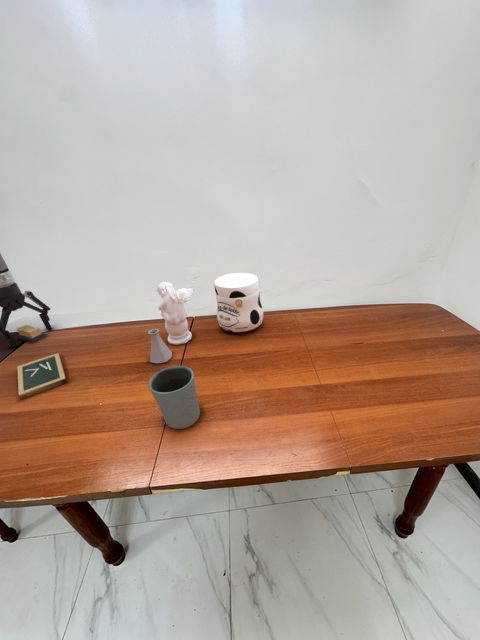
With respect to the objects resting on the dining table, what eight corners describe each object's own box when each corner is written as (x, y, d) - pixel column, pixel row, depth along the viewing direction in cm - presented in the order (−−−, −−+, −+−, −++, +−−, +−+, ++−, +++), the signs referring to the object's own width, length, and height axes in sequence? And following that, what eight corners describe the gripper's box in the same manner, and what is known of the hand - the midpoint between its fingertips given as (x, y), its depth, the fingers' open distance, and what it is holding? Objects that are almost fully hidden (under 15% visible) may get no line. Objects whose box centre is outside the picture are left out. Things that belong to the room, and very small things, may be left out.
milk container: (215, 338, 105) (207, 290, 95) (221, 316, 119) (215, 273, 110) (264, 335, 104) (260, 287, 94) (264, 314, 119) (261, 270, 109)
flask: (175, 351, 99) (168, 325, 94) (167, 364, 93) (160, 337, 88) (155, 351, 100) (147, 325, 94) (146, 364, 94) (137, 337, 88)
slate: (20, 370, 95) (17, 366, 94) (60, 357, 101) (58, 352, 100) (21, 399, 83) (18, 395, 82) (67, 382, 88) (65, 377, 87)
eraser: (19, 338, 114) (13, 329, 112) (32, 332, 118) (27, 323, 116) (33, 342, 111) (28, 333, 108) (46, 336, 114) (41, 327, 112)
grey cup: (183, 437, 68) (171, 398, 61) (152, 422, 72) (138, 385, 66) (210, 409, 75) (202, 371, 68) (181, 397, 79) (170, 361, 73)
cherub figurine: (167, 333, 110) (152, 276, 98) (201, 327, 112) (189, 271, 100) (168, 350, 100) (150, 289, 88) (204, 343, 102) (192, 282, 90)
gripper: (-34, 299, 92) (3, 356, 103) (44, 273, 110) (68, 324, 122) (-46, 297, 95) (-9, 352, 106) (32, 272, 113) (56, 321, 125)
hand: (32, 337), depth 114 cm, fingers open, 13 cm apart
